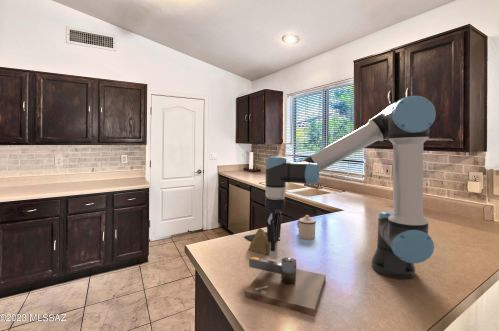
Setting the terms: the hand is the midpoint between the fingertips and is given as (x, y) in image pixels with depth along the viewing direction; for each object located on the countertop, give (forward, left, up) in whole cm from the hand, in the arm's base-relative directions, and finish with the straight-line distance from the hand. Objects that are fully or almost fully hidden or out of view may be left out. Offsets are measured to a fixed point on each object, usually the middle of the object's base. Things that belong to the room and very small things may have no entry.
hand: (273, 258), depth 100 cm
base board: (-8, +9, -6) cm, 13 cm away
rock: (+12, -16, -6) cm, 21 cm away
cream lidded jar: (-2, -46, -6) cm, 46 cm away
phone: (+20, -34, -6) cm, 40 cm away
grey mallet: (-2, +8, -3) cm, 9 cm away
